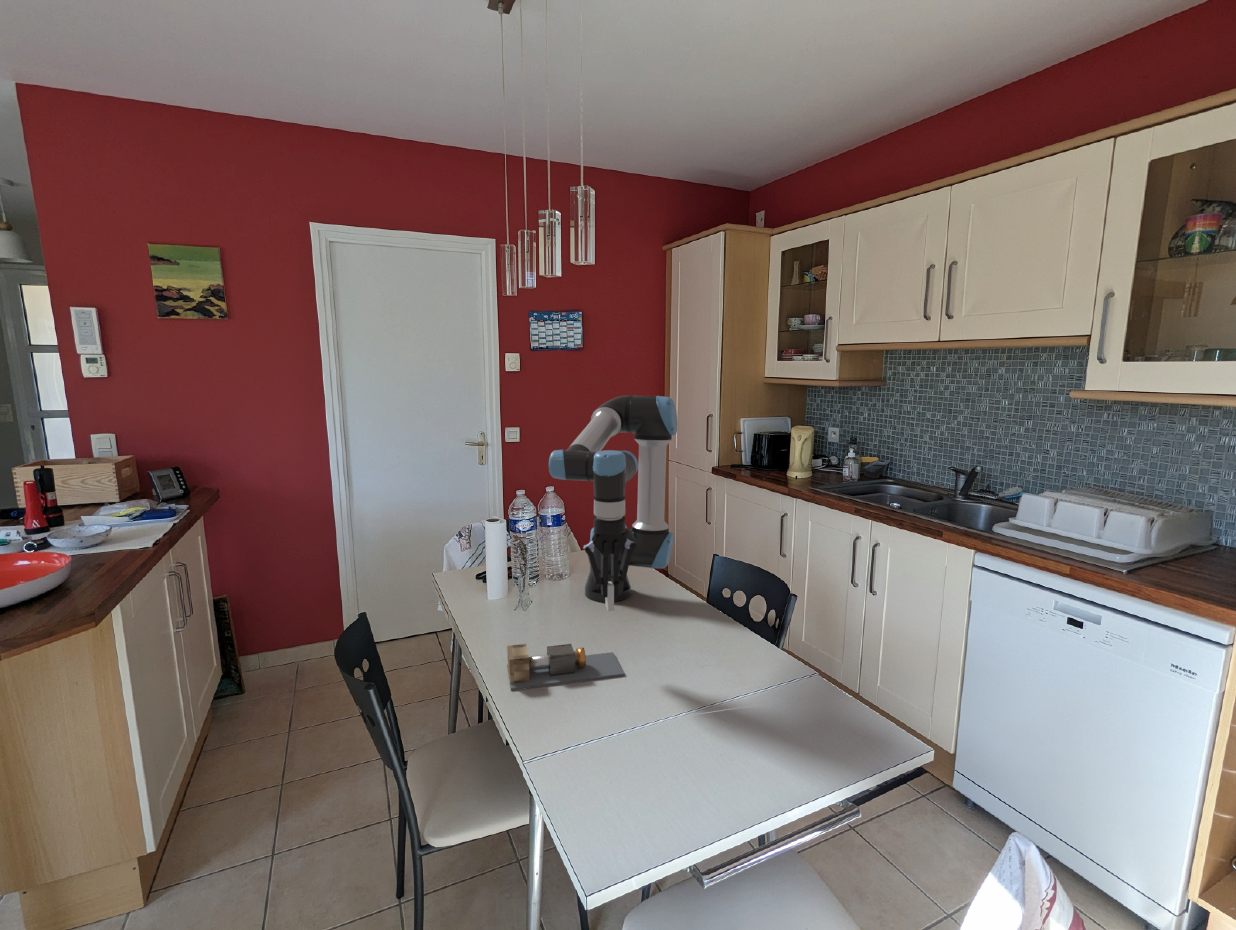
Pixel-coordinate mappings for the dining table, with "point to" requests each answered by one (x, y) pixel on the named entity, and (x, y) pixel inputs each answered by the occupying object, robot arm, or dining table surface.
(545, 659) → the sliding bolt
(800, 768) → the dining table surface
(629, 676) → the dining table surface
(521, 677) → the socket block
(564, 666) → the sleeve
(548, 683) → the base mat
